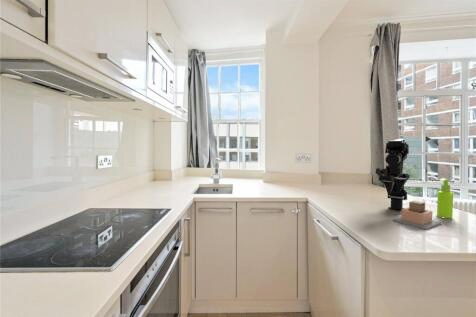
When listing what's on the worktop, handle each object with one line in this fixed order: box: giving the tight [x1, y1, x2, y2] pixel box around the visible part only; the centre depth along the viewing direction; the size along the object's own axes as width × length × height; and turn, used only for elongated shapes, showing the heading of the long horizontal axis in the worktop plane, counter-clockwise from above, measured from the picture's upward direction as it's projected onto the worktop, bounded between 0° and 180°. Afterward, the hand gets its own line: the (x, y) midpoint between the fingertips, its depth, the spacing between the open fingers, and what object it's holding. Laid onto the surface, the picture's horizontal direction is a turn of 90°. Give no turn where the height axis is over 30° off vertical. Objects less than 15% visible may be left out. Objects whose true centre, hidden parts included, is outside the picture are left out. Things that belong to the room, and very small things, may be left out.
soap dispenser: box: [436, 178, 454, 219], centre depth 116 cm, size 6×7×20 cm
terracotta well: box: [392, 207, 442, 231], centre depth 109 cm, size 14×14×6 cm
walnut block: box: [408, 200, 426, 213], centre depth 109 cm, size 4×4×9 cm
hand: (393, 192), depth 121 cm, fingers open, 9 cm apart
